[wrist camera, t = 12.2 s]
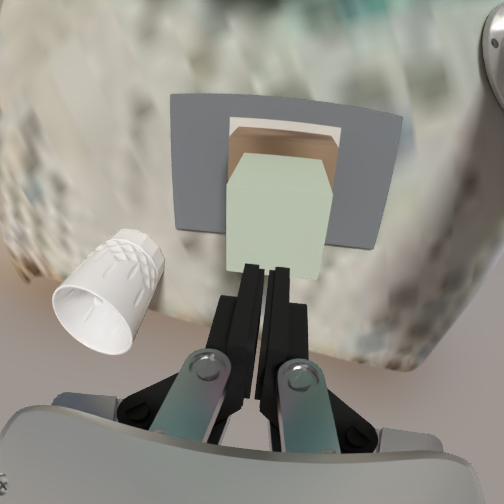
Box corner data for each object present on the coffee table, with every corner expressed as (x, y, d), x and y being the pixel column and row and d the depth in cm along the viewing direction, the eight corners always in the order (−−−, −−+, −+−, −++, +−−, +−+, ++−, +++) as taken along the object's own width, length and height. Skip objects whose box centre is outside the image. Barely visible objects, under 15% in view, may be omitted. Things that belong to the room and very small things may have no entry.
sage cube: (321, 160, 19) (333, 194, 14) (312, 227, 22) (317, 280, 17) (244, 152, 20) (226, 184, 14) (241, 221, 22) (226, 270, 17)
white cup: (181, 282, 32) (148, 356, 24) (122, 288, 34) (82, 353, 25) (153, 215, 28) (101, 281, 20) (92, 230, 30) (37, 288, 21)
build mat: (401, 116, 21) (403, 117, 20) (372, 246, 27) (373, 249, 27) (172, 94, 22) (169, 94, 21) (177, 226, 28) (175, 228, 28)
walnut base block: (331, 135, 22) (338, 147, 19) (318, 217, 26) (322, 241, 22) (238, 126, 22) (229, 136, 19) (235, 208, 26) (226, 231, 23)
